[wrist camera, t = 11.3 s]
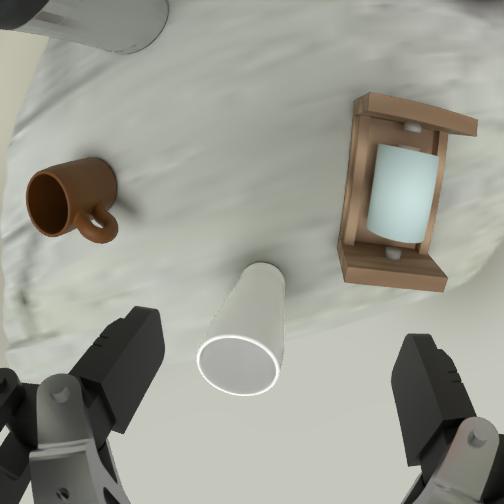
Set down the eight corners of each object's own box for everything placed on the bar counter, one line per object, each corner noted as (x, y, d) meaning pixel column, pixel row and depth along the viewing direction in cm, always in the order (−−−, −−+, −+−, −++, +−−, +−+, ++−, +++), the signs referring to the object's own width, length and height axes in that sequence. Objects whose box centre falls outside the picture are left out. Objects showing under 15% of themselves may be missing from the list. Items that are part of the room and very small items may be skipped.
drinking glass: (298, 262, 35) (290, 347, 22) (284, 311, 38) (269, 404, 24) (239, 248, 36) (198, 324, 22) (230, 298, 39) (192, 384, 25)
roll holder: (354, 101, 28) (369, 92, 20) (442, 119, 26) (477, 119, 19) (337, 248, 34) (344, 282, 27) (418, 258, 33) (443, 292, 25)
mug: (156, 192, 35) (112, 214, 26) (133, 243, 38) (91, 275, 29) (84, 146, 34) (33, 156, 26) (68, 196, 37) (20, 216, 29)
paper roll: (372, 139, 28) (388, 141, 22) (425, 150, 27) (450, 156, 22) (360, 221, 31) (372, 241, 26) (412, 229, 31) (432, 249, 25)
